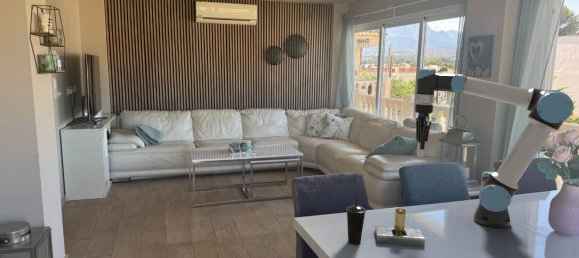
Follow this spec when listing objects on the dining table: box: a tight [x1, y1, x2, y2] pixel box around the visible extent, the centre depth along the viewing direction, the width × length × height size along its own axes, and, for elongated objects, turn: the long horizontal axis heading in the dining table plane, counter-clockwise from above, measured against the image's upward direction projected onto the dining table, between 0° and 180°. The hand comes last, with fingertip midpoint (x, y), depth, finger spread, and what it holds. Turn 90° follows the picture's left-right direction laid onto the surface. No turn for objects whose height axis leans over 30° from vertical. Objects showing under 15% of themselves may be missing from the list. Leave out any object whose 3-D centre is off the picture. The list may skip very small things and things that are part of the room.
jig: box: [374, 225, 426, 247], centre depth 168 cm, size 18×12×3 cm, turn 83°
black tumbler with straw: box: [345, 192, 367, 246], centre depth 162 cm, size 8×8×20 cm
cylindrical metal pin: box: [393, 208, 407, 236], centre depth 167 cm, size 4×4×12 cm
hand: (420, 156), depth 187 cm, fingers closed
